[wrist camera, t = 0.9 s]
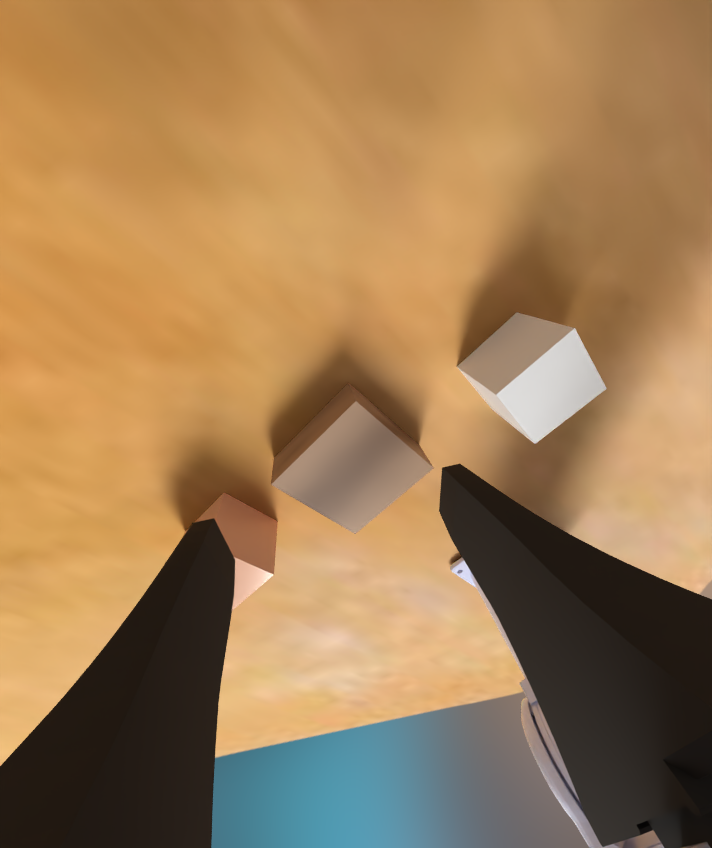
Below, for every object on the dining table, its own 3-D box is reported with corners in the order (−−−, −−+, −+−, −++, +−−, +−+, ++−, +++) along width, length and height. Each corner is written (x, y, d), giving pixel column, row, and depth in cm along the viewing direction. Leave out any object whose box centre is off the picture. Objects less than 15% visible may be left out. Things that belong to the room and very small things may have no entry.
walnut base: (417, 442, 22) (433, 468, 19) (348, 503, 24) (355, 533, 21) (347, 380, 19) (355, 401, 16) (274, 455, 21) (271, 484, 18)
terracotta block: (277, 520, 23) (273, 574, 19) (239, 555, 24) (228, 613, 20) (224, 491, 21) (207, 545, 17) (185, 530, 22) (161, 589, 18)
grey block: (547, 362, 20) (606, 388, 16) (491, 409, 21) (534, 444, 18) (516, 312, 18) (574, 328, 14) (456, 366, 19) (496, 394, 16)
